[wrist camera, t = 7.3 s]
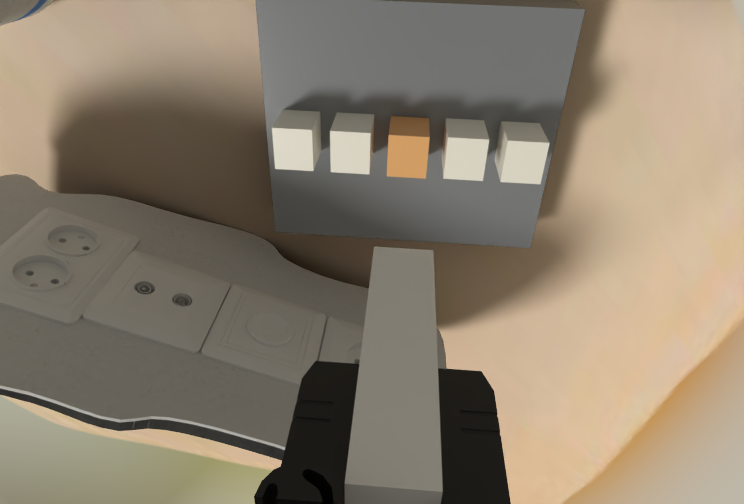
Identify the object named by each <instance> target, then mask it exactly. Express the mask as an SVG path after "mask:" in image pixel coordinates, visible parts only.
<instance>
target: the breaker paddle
mask: <svg viewBox="0 0 744 504" xmlns="http://www.w3.org/2000/svg"><path fill="white" fill-rule="evenodd" d="M429 140H430V132H429V118H419V117H400V116H391V120H390V128H389V137H388V158H387V176H388V177H406V178H423V179H426V172H427V161H428V150H429Z"/></svg>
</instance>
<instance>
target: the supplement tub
mask: <svg viewBox="0 0 744 504" xmlns="http://www.w3.org/2000/svg"><path fill="white" fill-rule="evenodd" d="M53 1H54V0H0V25H4V24H7V23H10V22H14V21H17V20H20V19H22V18H26V17H29V16H32V15H34V14H36V13H38V12H40V11H42V10H43V9H45V8H46V7H47V6H49V5H50V4H51V3H52V2H53Z"/></svg>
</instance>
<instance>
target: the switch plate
mask: <svg viewBox="0 0 744 504" xmlns="http://www.w3.org/2000/svg"><path fill="white" fill-rule="evenodd" d="M256 11H257V23H258V35H259V47H260V59H261V71H262V83H263V95H264V107H265V119H266V130H267V142H268V154H269V166H270V178H271V190H272V202H273V214H274V226H275V232H281V233H297V234H313V235H328V236H344V237H360V238H376V239H391V240H407V241H423V242H439V243H454V244H470V245H486V246H502V247H517V248H531V244H532V240H533V235H534V231H535V227H536V222H537V218H538V213H539V209H540V205H541V200H542V196H543V192H544V187H545V183H546V179H547V174H548V170H549V165H550V161H551V157H552V152H553V148H554V144H555V139H556V135H557V131H558V126H559V122H560V117H561V113H562V109H563V104H564V100H565V96H566V91H567V87H568V83H569V78H570V74H571V70H572V65H573V61H574V56H575V52H576V48H577V43H578V39H579V35H580V30H581V26H582V22H583V17H584V13H585V9H584V8H583V7H581V6H580V5H579V4H577V3H576V2H574V1H573V0H256ZM391 116H400V117H419V118H429V132H430V140H429V150H428V161H427V172H426V179H423V178H406V177H388V176H387V158H388V137H389V128H390V120H391Z"/></svg>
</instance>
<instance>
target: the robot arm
mask: <svg viewBox="0 0 744 504" xmlns="http://www.w3.org/2000/svg"><path fill="white" fill-rule="evenodd" d="M254 498H255V504H511V503H510V497H509V490H508V483H507V476H506V469H505V463H504V456H503V449H502V442H501V436H500V429H499V422H498V417H497V408H496V401H495V395H494V390H493V389H492V387H491V386H490V384H489V383H488V381H487V379H486V378H485V376H484V375H483V373H482V372H481V371H469V370H455V369H442V368H438V355H437V330H436V304H435V278H434V252H433V250H422V249H406V248H390V247H374V251H373V259H372V267H371V275H370V283H369V291H368V299H367V307H366V315H365V323H364V332H363V340H362V348H361V356H360V364H354V363H340V362H326V361H315V362H314V364H313V365H312V366H311V367H310V369H309V370H308V371H307V372H306V374H305V375H304V376H303V377H302V380H301V384H300V388H299V392H298V396H297V403H296V405H295V409H294V413H293V420H292V422H291V426H290V430H289V434H288V439H287V443H286V447H285V451H284V455H283V460H282V464H281V467H279V468H277V469H274V470H273V471H272V472H271V473H270V474H269V475H268V476H267V477H266V478H265V479H264V480H263V481H262V482H261V484H260V486H259V488H258V490H257V492H256V494H255V496H254Z"/></svg>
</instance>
